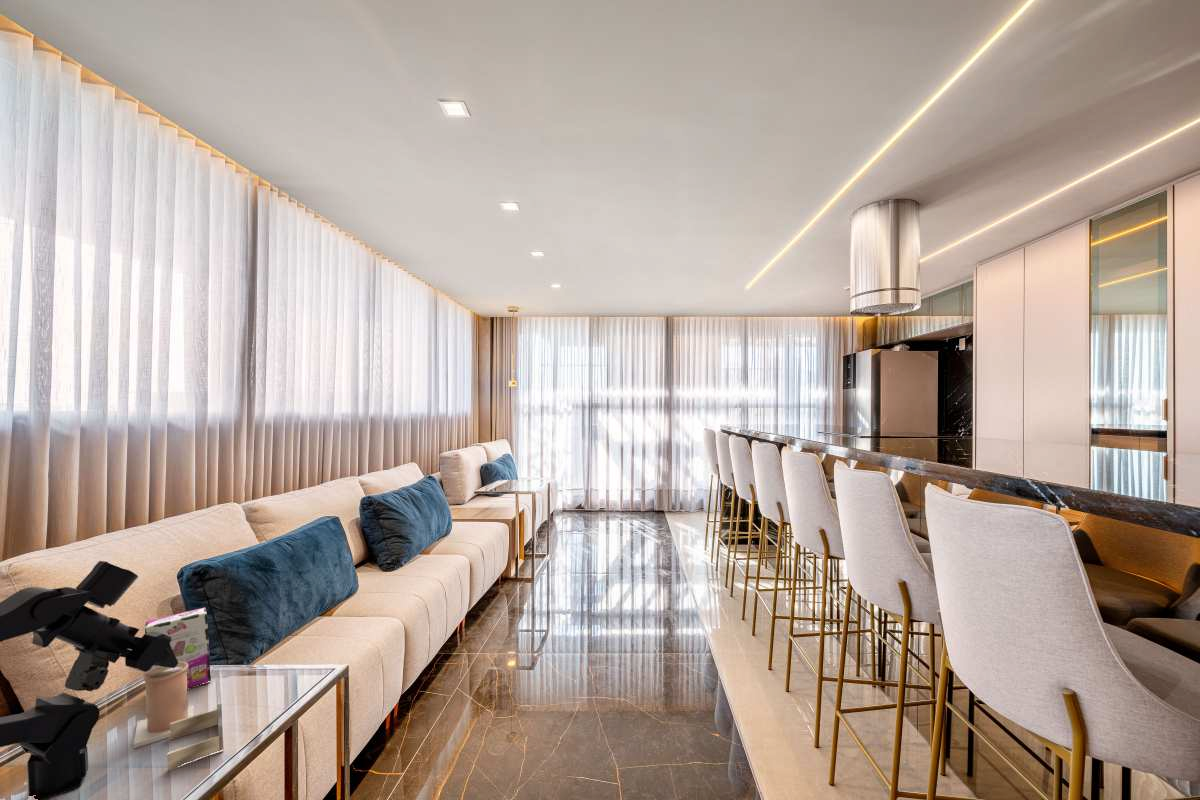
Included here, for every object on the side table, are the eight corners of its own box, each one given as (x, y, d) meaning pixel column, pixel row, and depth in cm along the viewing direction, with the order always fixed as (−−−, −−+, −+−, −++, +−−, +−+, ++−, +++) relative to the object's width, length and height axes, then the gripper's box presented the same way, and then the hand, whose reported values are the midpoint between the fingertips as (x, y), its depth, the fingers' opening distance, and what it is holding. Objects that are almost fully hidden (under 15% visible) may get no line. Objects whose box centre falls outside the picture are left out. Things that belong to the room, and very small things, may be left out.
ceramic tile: (133, 748, 101) (133, 744, 101) (137, 725, 108) (137, 721, 108) (193, 729, 106) (193, 725, 106) (193, 708, 113) (193, 704, 113)
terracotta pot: (159, 736, 103) (157, 681, 103) (136, 728, 105) (135, 675, 105) (197, 715, 109) (196, 664, 109) (176, 709, 112) (174, 658, 112)
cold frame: (168, 771, 94) (165, 720, 94) (170, 738, 103) (168, 692, 103) (223, 751, 99) (221, 703, 99) (221, 721, 108) (219, 677, 108)
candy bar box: (209, 674, 127) (206, 606, 127) (211, 683, 123) (208, 612, 123) (148, 692, 120) (145, 620, 120) (148, 702, 116) (144, 627, 116)
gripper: (19, 668, 94) (98, 697, 104) (81, 687, 87) (159, 715, 98) (74, 607, 101) (143, 639, 112) (135, 619, 95) (203, 652, 105)
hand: (161, 661), depth 106 cm, fingers open, 9 cm apart
